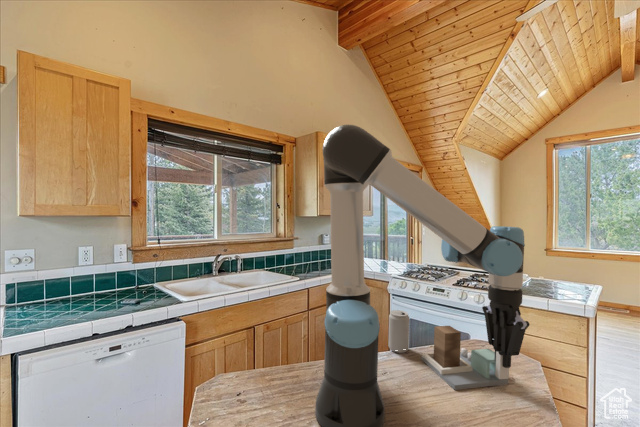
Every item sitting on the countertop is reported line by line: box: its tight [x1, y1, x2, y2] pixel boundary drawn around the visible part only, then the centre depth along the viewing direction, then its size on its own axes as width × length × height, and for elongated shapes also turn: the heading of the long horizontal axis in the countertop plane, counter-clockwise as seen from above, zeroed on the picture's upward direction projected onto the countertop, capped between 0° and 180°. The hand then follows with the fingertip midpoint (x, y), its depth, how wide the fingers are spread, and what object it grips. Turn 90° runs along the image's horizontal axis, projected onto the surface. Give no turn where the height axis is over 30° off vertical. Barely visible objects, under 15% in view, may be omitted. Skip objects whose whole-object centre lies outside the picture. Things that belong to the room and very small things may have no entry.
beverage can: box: [387, 309, 410, 354], centre depth 98 cm, size 6×6×12 cm
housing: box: [470, 348, 496, 379], centre depth 83 cm, size 6×6×5 cm
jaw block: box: [433, 325, 462, 368], centre depth 87 cm, size 5×5×10 cm
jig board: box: [420, 347, 509, 391], centre depth 86 cm, size 16×16×3 cm
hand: (502, 377), depth 78 cm, fingers closed
